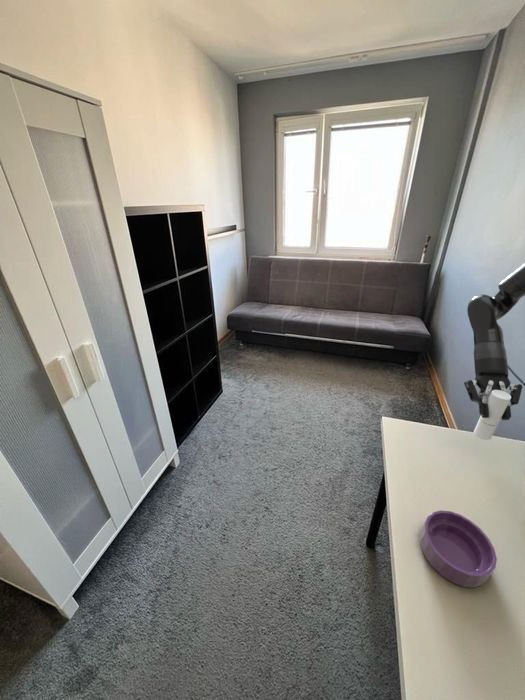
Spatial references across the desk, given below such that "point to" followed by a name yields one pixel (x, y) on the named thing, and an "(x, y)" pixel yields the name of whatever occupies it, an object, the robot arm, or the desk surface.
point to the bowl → (457, 549)
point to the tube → (492, 414)
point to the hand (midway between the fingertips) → (495, 418)
